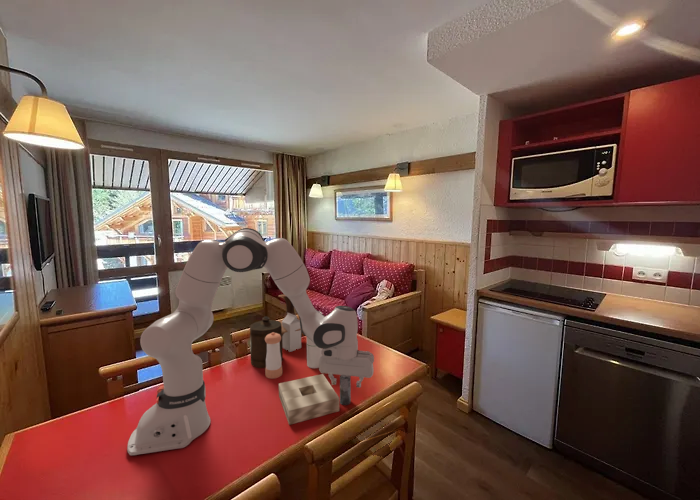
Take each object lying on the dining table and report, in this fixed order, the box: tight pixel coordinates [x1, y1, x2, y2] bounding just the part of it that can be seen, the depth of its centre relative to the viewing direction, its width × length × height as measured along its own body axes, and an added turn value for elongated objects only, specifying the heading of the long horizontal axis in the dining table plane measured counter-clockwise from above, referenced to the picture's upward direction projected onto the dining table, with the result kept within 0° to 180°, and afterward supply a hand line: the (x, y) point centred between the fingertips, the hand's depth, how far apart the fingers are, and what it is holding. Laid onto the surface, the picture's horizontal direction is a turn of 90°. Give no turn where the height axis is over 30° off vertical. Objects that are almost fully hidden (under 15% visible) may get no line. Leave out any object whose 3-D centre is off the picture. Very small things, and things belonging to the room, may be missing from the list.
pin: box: [339, 375, 352, 406], centre depth 110 cm, size 4×4×10 cm
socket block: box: [278, 373, 340, 426], centre depth 110 cm, size 18×18×5 cm
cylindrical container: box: [306, 311, 323, 369], centre depth 138 cm, size 7×7×25 cm
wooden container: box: [249, 316, 284, 369], centre depth 142 cm, size 15×15×22 cm
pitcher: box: [277, 294, 303, 348], centre depth 160 cm, size 18×17×28 cm
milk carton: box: [281, 313, 302, 353], centre depth 156 cm, size 7×7×19 cm
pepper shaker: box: [264, 332, 283, 380], centre depth 130 cm, size 7×7×19 cm
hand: (346, 385), depth 110 cm, fingers open, 8 cm apart
